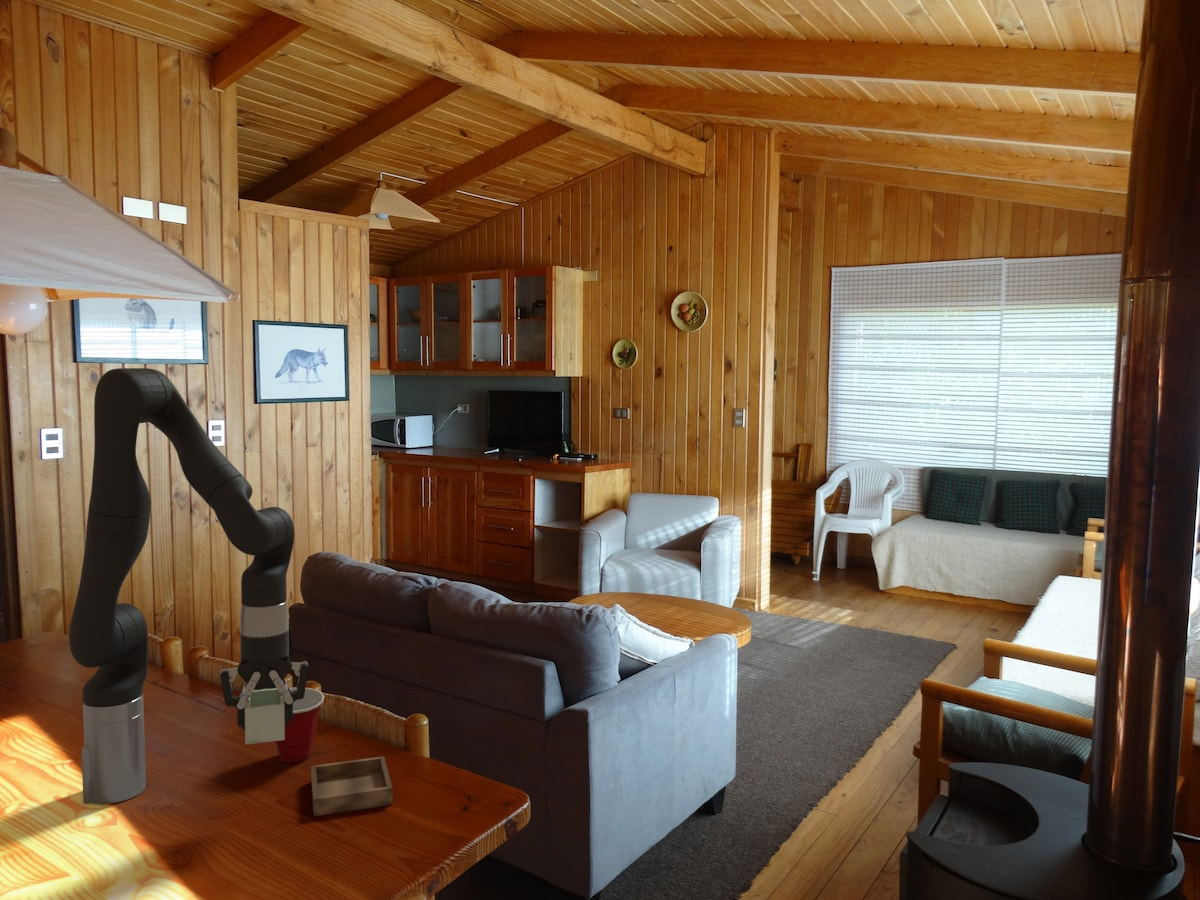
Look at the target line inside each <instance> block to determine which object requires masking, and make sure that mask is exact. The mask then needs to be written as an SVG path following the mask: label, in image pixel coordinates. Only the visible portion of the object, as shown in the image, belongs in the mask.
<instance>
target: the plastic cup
mask: <svg viewBox="0 0 1200 900" xmlns="http://www.w3.org/2000/svg"><path fill="white" fill-rule="evenodd" d="M289 688H290V690H291V692H293V691H295V690H297V687H289ZM324 700H325V695H324V693H323V692H321V691H320V690H318V689H315V688H310V687H305V694H304V698H303V699H301V700H299V699H298V700H296V701H294V703H293V719H292V721H291V722H289V725H286V726H285V740H280V741H275V744H276V748H277V753H278V757H279V759H280V761H281V762H284V763H286V764H287V763H289V764H294V763H295V764H296V763H300V762H304V761H306V760H308V759H309V758H311V756H312V751H313V745H314V739H315V735H316V729H317V723H318V717H319V713H320V709H321V705H322V704H323V703H324Z"/></svg>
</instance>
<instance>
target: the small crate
mask: <svg viewBox="0 0 1200 900" xmlns="http://www.w3.org/2000/svg"><path fill="white" fill-rule="evenodd" d="M244 734H245V735H244V736H245V737H244V740H245V741H244V742H245V743H244V745H253V744H254V745H255V744H259V743H261V744H262V743H268V742H269V743H270V742H276V741H280V740H285V723H284V699H283V697H282V695H281V694H280V693H279V691H278V689H277V687H275V689H267V688H264V689H261V690H255V689H254V690H253V692H252V694H251V696H250V697H249V699H248V701H247V702H246V703H245V730H244Z"/></svg>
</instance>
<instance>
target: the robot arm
mask: <svg viewBox="0 0 1200 900" xmlns="http://www.w3.org/2000/svg"><path fill="white" fill-rule="evenodd" d="M96 384H97V385H96V388H95V394H94V401H93V402H94V403H93V404H94V405H93V407H94V408H93V414H94V415H93V419H94V421H93V424H94V425H93V427H94V428H93V429H94V431H93V432H94V433H93V434H94V446H93V447H94V451H93V464H92V465H93V467H92V477H91V478H92V479H91V488H90V489H91V490H90V497H89V498H90V499H89V503H88V512H87V519H86V528H85V529H86V531H85V544H84V545H85V546H84V552H83V558H82V566H81V574H80V579H79V580H80V581H79V585H78V591H77V595H76V598H75V602H74V607H73V611H72V616H71V620H70V624H69V625H70V626H69V631H68V643H69V644H68V645H69V650H70V653H71V655H72V658H73V659H74V660H75V662H76V663H78V665H81V666H82V667H84V668H90V669H91V668H98V669H97V670H96V672H95V673H94V674H93V675H92V676H91V677H90V678H89V679H88V680H87V681H86V682H85V684H84V685H83V687H82V691H81V692H82V693H81V695H82V712H83V713H82V714H83V716H82V717H83V741H84V745H83V746H82V749H81V774H82V776H81V778H82V798H83V799H82V801H83V802H82V803H83V804H87V803H93V804H99V805H106V804H107V805H108V804H115V803H120V802H124V801H127V800H130V799H132V798H135V797H136V796H139V795H140V794H141V793H142V792H144V791H145V789H146V787H147V774H146V752H145V751H146V748H145V747H146V744H145V742H146V741H145V715H144V713H145V711H144V708H145V707H144V684H145V681H146V679H147V676H148V663H149V661H148V660H149V630H148V629H149V628H148V625H147V620H146V618H145V615H144V614H143V612H142V611H141V610H140V609H139V608H138V607H137V606H136V605H134V604H131V603H127V602H122V603H121V602H120V603H118V599H119V596H120V595H119V594H120V591H121V588H122V586H123V583H124V581H125V580H126V578H127V576H128V574H129V573H130V571H131V569H132V568H133V566H134V565H135V563H136V561H137V559H138V558H139V555H140V554H141V552H142V551H143V548H144V546H145V544H146V541H147V538H148V533H149V526H150V520H151V518H150V517H151V512H152V511H151V509H152V507H151V505H152V499H151V495H150V491H149V488H148V485H147V484H146V481H145V479H144V477H143V475H142V472H141V469H140V467H139V465H138V460H137V459H138V458H137V440H138V439H137V438H138V432H139V431H138V430H139V426H140V424H147V423H150V425H152V426H154V427H156V429H158V430H159V431H160V432H161V433H162V434H164V435H165V437H166V438H167V439H168V440H169V441H170V442H171V443H172V447H174V449H175V451H176V454H177V457H178V460H179V464H180V468H181V470H182V473H183V475H184V477H185V479H186V481H187V482H188V484H189V485H190V486H191V488H192V489H193V490H194V491H195V492H196V493H197V494H198V495H199V496H200V498H201V499H203V500H204V502H206V504H207V505H208V506H209V507H210V508H211V509H212V510H213V511H214V514H215V516H216V518H217V520H218V522H219V524H220V525H221V528H222V529H223V532H224V534H225V535H226V537H227V539H228V540H229V542H230V543H231V545H232V546H234V547H235V548H236V549H237V550H238V551H240V552H241V553H243V554H246V555H248V556H253V560H252V562H251V563H250V565H249V566H248V567H246V568H245V569H244V570H243V572H242V574H241V578H240V579H241V580H240V581H241V582H240V590H241V591H240V594H241V595H240V596H241V598H240V600H241V604H240V605H241V607H240V608H241V609H240V612H239V613H240V614H239V631H240V632H239V637H240V638H239V639H240V640H239V641H240V643H239V645H240V647H239V648H240V653H239V654H240V662H239V664H238V665H237V666H235V667H230V668H228V667H227V666H226V667H225V666H224V667H222V668H221V669H220V670H221V671H220V676H219V677H220V682H221V689H222V693H223V699H224V705H225V706H226V707H234V708H236V713H237V714H236V717H237V718H236V719H237V726H238V728H241V730H242V731H245V703H246V702H247V701H248V699H249V697H250V696H251V694H252V692H253V691H254V690H264V689H275V688H277V689H278V691H279V693H280V694H281V695H282V697H283V699H284V723H285V726H286V725H289V722H291V721H292V719H293V703H294V701H296V700H298V699H299V700H301V699H303V698H304V694H305V688H307V687H306V686H307V680H308V679H307V678H308V674H309V673H308V671H309V662H308V661H307V660H305V659H304V660H302V661H300V662H299V661H297V662H296V661H292V659H291V657H290V654H289V653H290V652H289V651H290V643H289V642H290V639H289V638H290V637H289V636H290V635H289V629H290V628H289V623H290V620H289V608H288V602H287V596H288V595H287V573H288V570H289V566H290V562H291V558H292V554H293V553H292V552H293V549H294V542H295V525H294V522H293V519H292V517H291V515H290V514H289V513H288V512H287V511H286V510H285V509H283V508H281V507H278V506H269V507H264V508H262V509H256V508H255V507H254V506H253V505H252V503H251V502H250V499H251V497H253V488H252V485H251V484H250V483H249V481H248V480H247V479H246V477H245V476H244V475H242V473H241V472H240V471H239V470H238V469H237V468H236V467H235V466H234V465H233V464H232V463H231V462H230V460H228V458H227V457H226V456H225V455H224V454H223V453H222V452H221V450H219V448H218V446H216V445H215V443H214V442H213V441H212V438H210V437H209V435H208V434H207V432H206V431H205V429H204V428H203V427H202V425H201V423H200V422H199V421H198V419H197V418H196V416H195V414H193V412H192V410H191V409H190V407H189V406H188V404H187V403H186V401H185V399H184V397H183V396H182V395H181V393H180V391H178V389H177V387H176V386H175V385H174V383H173V382H172V381H171V380H170V378H169V377H168V376H167V375H165V374H164V373H163V372H162V371H160V370H157V369H155V368H147V367H145V368H144V367H142V368H141V367H137V368H136V367H135V368H133V367H129V368H128V367H119V368H113V369H109V370H107V371H106V372H105V373H104V374H103V375H101V377H100V379H99V380H98V382H97V383H96ZM291 670H293V671H294V674H295V676H297V677H298V680H297V684H296V688H297V690H295V691H293V692H291V690H290V688H291V687H289V685H288V682H287V680H286V677H287V676H288V674H289V673H290V672H291ZM237 675H238V676H239V677H240V678H241V679H242V680H243V681H244V682H245V684H244V685H243V688H242V690H241V692H240V694H239V696H235V695H234V691H233V685H232V682H234V681H235V678H236V676H237Z"/></svg>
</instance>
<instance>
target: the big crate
mask: <svg viewBox="0 0 1200 900" xmlns="http://www.w3.org/2000/svg"><path fill="white" fill-rule="evenodd" d="M387 765H388V764H387V762H386V759H385V755H384V756H375V757H368V758H361V759H353V760H346V761H337V762H331V763H323V764H314V765H310V769H311V770H310V772H311V773H310V775H311V777H310V778H311V780H310V781H311V782H310V783H311V794H312V797H311V798H312V810H313V811H312V812H313V817H320V816H325V815H332V814H339V813H346V812H352V811H359V810H366V809H371V808H373V809H374V808H380V807H384V806H390V805H391V806H392V805H393V785H392V782H391V781H392V780H391V778H390V774H389V773H390V772H389V770H388V766H387ZM379 806H380V807H379Z"/></svg>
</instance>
